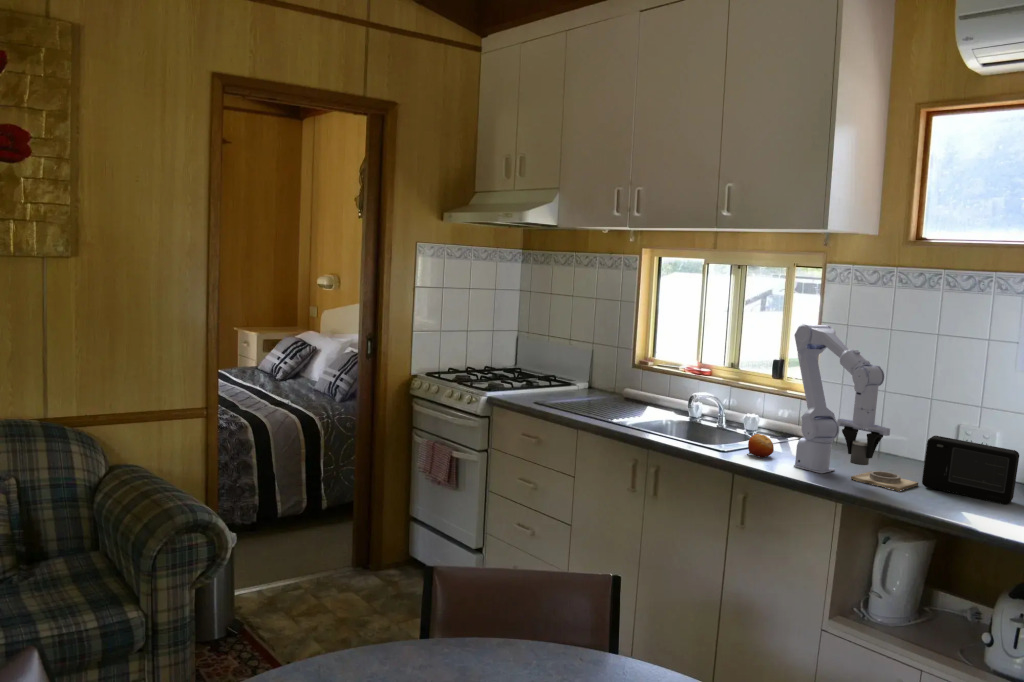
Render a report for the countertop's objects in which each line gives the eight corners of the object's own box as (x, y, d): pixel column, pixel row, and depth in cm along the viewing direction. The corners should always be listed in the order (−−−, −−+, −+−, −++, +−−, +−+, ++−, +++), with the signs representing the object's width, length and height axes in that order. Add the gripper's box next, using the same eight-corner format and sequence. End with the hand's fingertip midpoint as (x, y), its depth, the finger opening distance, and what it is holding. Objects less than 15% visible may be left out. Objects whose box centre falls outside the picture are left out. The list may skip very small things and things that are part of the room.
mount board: (850, 479, 245) (851, 471, 245) (870, 474, 253) (871, 466, 253) (898, 491, 235) (899, 483, 235) (918, 485, 243) (918, 477, 242)
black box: (1017, 500, 233) (1023, 446, 232) (1010, 507, 226) (1016, 451, 224) (929, 482, 248) (934, 432, 246) (919, 488, 240) (925, 436, 239)
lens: (847, 462, 239) (848, 441, 239) (855, 460, 243) (857, 439, 242) (863, 465, 236) (865, 444, 235) (872, 463, 239) (874, 442, 239)
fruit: (750, 446, 276) (763, 428, 273) (768, 463, 272) (781, 445, 268) (737, 449, 271) (750, 431, 267) (755, 466, 266) (769, 448, 263)
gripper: (833, 404, 240) (828, 451, 242) (883, 414, 230) (878, 463, 231) (846, 403, 245) (841, 449, 246) (895, 412, 234) (890, 460, 236)
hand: (860, 455), depth 239 cm, fingers closed on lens, 5 cm apart
